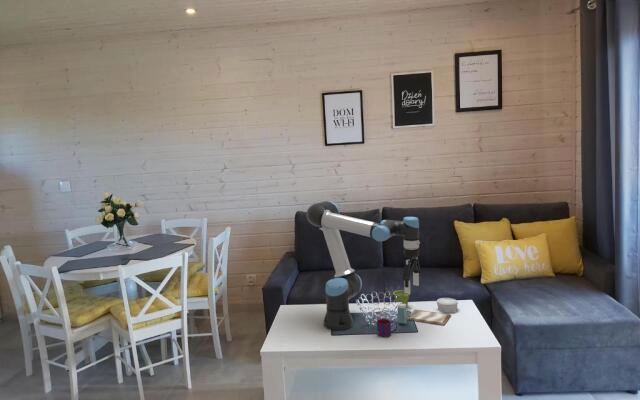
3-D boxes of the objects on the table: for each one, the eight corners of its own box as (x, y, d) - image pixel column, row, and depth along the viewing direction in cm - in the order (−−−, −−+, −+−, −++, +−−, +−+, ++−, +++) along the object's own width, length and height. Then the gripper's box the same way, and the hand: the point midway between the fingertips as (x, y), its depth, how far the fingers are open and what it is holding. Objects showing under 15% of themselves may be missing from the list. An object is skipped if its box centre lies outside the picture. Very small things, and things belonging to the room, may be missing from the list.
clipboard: (406, 320, 233) (405, 317, 233) (414, 310, 246) (414, 308, 246) (444, 325, 223) (444, 323, 223) (451, 315, 236) (451, 313, 236)
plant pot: (400, 303, 258) (399, 289, 257) (413, 307, 251) (413, 292, 250) (390, 308, 252) (389, 293, 251) (403, 312, 245) (403, 296, 244)
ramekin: (457, 307, 248) (457, 298, 248) (458, 314, 238) (458, 304, 237) (436, 306, 251) (436, 297, 251) (436, 313, 241) (436, 304, 240)
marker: (398, 324, 228) (397, 305, 227) (400, 322, 231) (399, 303, 229) (404, 325, 226) (404, 306, 225) (406, 323, 229) (406, 304, 228)
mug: (376, 332, 220) (376, 318, 219) (396, 331, 219) (396, 318, 218) (377, 337, 213) (377, 324, 212) (398, 337, 212) (398, 323, 212)
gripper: (410, 254, 208) (411, 297, 211) (426, 243, 230) (426, 283, 232) (395, 252, 212) (396, 295, 214) (412, 242, 233) (412, 281, 236)
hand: (411, 289), depth 223 cm, fingers open, 13 cm apart
